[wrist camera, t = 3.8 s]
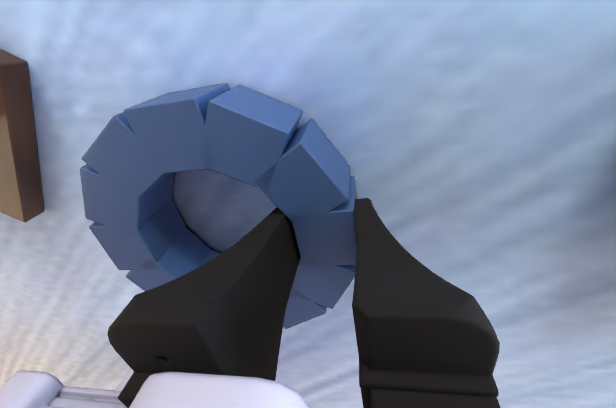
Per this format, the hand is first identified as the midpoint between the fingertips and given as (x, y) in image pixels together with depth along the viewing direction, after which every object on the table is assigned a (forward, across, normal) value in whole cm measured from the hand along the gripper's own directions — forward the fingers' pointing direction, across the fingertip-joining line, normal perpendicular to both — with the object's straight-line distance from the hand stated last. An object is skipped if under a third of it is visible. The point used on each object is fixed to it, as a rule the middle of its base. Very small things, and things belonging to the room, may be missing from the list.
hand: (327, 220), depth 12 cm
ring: (+1, +5, 0) cm, 5 cm away
